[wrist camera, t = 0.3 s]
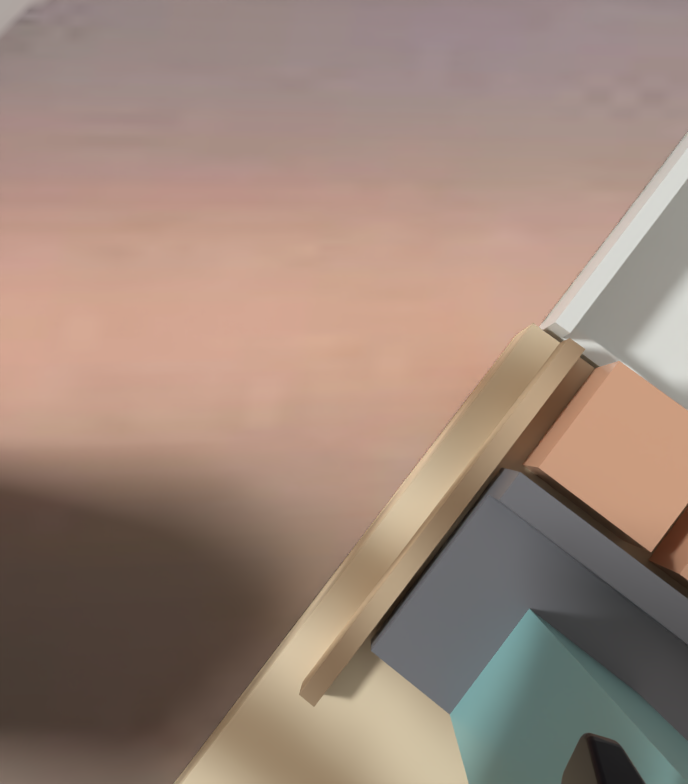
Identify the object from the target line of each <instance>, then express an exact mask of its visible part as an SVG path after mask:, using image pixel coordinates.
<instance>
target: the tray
mask: <svg viewBox="0 0 688 784" xmlns="http://www.w3.org/2000/svg"><path fill="white" fill-rule="evenodd" d="M539 328H541V329H542V330H543V331H545V332H546V333H547V334H549V335H550V336H551V337H553V338H554V339H556V340H557V341H558V342H560V343H561V342H563V341H565V340H567V339H569V338H571V339H572V340H573V341H575V342H576V343H578V344H579V345H580V346H582V347H583V348H584V349H585V350H584V352H583V353H582V354H581V356H580V358H582V359H583V360H584V361H586V362H587V363H588V364H590V365H591V366H593V367H594V368H598V367H601V366H604V365H607V364H611V363H614V362H617V361H620V362H622V363H623V364H624V365H626V366H627V367H628V368H630V369H631V370H633V371H634V372H635V373H637V374H638V375H639V376H641V377H642V378H644V379H645V380H646V381H648V382H649V383H650V384H652V385H653V386H655V387H656V388H657V389H659V390H660V391H661V392H663V393H664V394H666V395H667V396H668V397H670V398H671V399H672V400H674V401H675V402H677V403H678V404H679V405H681V406H682V407H683V408H685V409H686V410H688V132H687V133H686V135H685V136H684V137H683V139H682V140H681V141H680V142H679V144H678V145H677V146H676V148H675V149H674V150H673V152H672V153H671V154H670V156H669V157H668V158H667V160H666V161H665V162H664V163H663V165H662V166H661V167H660V169H659V170H658V171H657V173H656V174H655V175H654V177H653V178H652V179H651V181H650V182H649V183H648V184H647V186H646V187H645V188H644V190H643V191H642V192H641V194H640V195H639V196H638V198H637V199H636V200H635V202H634V203H633V204H632V205H631V207H630V208H629V209H628V211H627V212H626V213H625V215H624V216H623V217H622V219H621V220H620V221H619V223H618V224H617V225H616V226H615V228H614V229H613V230H612V232H611V233H610V234H609V236H608V237H607V238H606V240H605V241H604V242H603V244H602V245H601V246H600V247H599V249H598V250H597V251H596V253H595V254H594V255H593V257H592V258H591V259H590V261H589V262H588V263H587V265H586V266H585V267H584V268H583V270H582V271H581V272H580V274H579V275H578V276H577V278H576V279H575V280H574V282H573V283H572V284H571V286H570V287H569V288H568V289H567V291H566V292H565V293H564V295H563V296H562V297H561V299H560V300H559V301H558V303H557V304H556V305H555V307H554V308H553V309H552V310H551V312H550V313H549V314H548V316H547V317H546V318H545V320H544V321H543V322H542V324H541V325H540V326H539Z"/></svg>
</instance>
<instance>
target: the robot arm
mask: <svg viewBox="0 0 688 784" xmlns="http://www.w3.org/2000/svg"><path fill="white" fill-rule="evenodd" d="M561 784H646V783H645V782H644V780H643V778H642V777H641V775H640V774H639V772H638V771H637V769H636V767H635V766H634V764H633V763H632V761H631V760H630V758H629V757H628V755H627V753H626V752H625V750H624V749H623V747H622V746H621V745H620V744H619V743H618V742H617V741H615V740H613V739H610V738H606V737H603V736H599V735H596V734H593V733H584V734H583V735H582V736H581V737H580V739H579V741H578V743H577V745H576V747H575V749H574V751H573V753H572V755H571V757H570V759H569V761H568V763H567V765H566V767H565V769H564V772H563V775H562V780H561Z"/></svg>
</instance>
